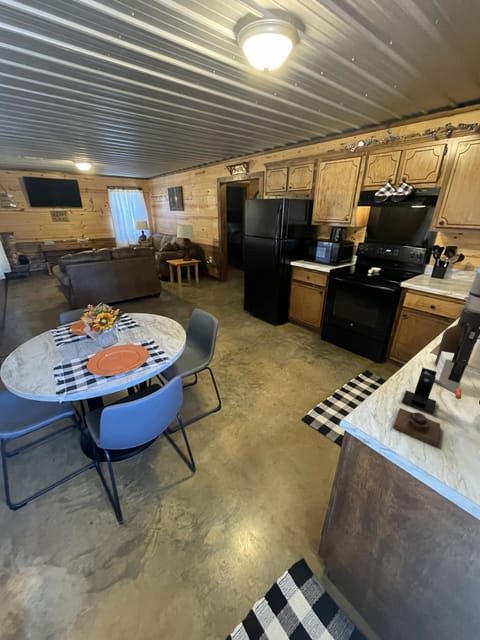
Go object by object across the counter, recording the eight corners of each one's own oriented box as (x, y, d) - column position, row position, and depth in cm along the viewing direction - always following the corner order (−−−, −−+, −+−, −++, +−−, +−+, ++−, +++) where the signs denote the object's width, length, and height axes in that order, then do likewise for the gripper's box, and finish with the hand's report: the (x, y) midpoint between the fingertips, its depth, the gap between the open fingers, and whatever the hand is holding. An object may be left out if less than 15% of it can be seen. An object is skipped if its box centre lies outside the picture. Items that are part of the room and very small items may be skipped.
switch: (458, 393, 92) (463, 389, 91) (458, 401, 89) (463, 396, 87) (422, 373, 98) (426, 369, 97) (420, 379, 94) (424, 375, 93)
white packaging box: (453, 379, 114) (463, 354, 109) (458, 389, 107) (468, 363, 102) (433, 375, 116) (441, 350, 112) (436, 384, 110) (445, 358, 105)
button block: (438, 427, 88) (441, 419, 87) (436, 446, 81) (439, 437, 80) (398, 411, 95) (400, 403, 94) (392, 427, 88) (395, 419, 86)
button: (425, 419, 87) (426, 415, 86) (424, 426, 84) (425, 422, 84) (412, 414, 89) (414, 410, 88) (411, 420, 86) (412, 416, 86)
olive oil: (443, 372, 119) (462, 322, 109) (428, 360, 128) (443, 312, 119) (467, 373, 118) (487, 322, 109) (450, 360, 128) (467, 313, 119)
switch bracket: (435, 403, 99) (446, 372, 94) (433, 415, 94) (445, 382, 88) (405, 392, 105) (414, 363, 100) (401, 402, 99) (411, 372, 94)
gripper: (465, 298, 88) (444, 353, 96) (461, 318, 70) (436, 384, 78) (495, 303, 83) (470, 360, 92) (499, 326, 66) (468, 395, 74)
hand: (454, 371), depth 85 cm, fingers open, 13 cm apart
